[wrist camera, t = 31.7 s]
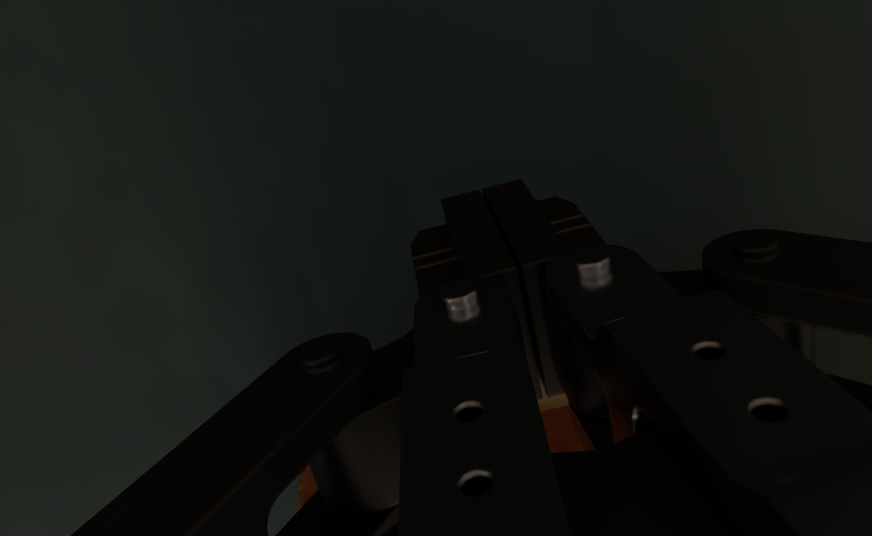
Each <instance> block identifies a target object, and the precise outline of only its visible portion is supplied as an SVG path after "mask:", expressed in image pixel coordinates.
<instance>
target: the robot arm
mask: <svg viewBox="0 0 872 536" xmlns="http://www.w3.org/2000/svg"><path fill="white" fill-rule="evenodd" d="M482 192H483V197H482V195H481V192H480V190H476V191H472V192H468V193H464V194H460V195H456V196H452V197H448V198H444V199H441V202H442V206H443V211H444V215H445V219H446V223H447V224H445V225H441V226H437V227H433V228H429V229H425V230H421V231H419V233H418V234H417V236H416V237H415V239H414V240H413V242H412V243H411V250H412V256H413V262H414V267H415V273H416V278H417V284H418V290H419V295H420V298H419V300H418V301H417V302H416V305H415V308H414V328H412V329H411V330H410V331H409V332H408V333H407V334H405V335H404V336H403V337H401V338H399V339H398V340H396V341H394V342H392V343H390V344H388V345H386V346H384V347H382V348H379V349H377V350H375V351H373V350H372V347H371V344H370V342H369V341H368V339H366V338H365V337H364V336H361V335H359V334H355V333H333V334H328V335H323V336H320V337H317V338H314V339H311V340H309V341H306V342H304V343H302V344H300V345H298V346H297V347H295V348H294V349H292V350H291V351H289V352H288V353H287V354H285V355H284V356H283V357H282V358H281V359H279V360H278V361H277V362H276V363H275V364H273V365H272V366H271V367H270V368H269V369H268V370H266V371H265V372H264V373H263V374H262V375H260V376H259V377H258V378H257V379H256V380H255V381H253V382H252V383H251V384H250V385H249V386H247V387H246V388H245V389H244V390H243V391H241V392H240V393H239V394H238V395H237V396H236V397H234V398H233V399H232V400H231V401H230V402H228V403H227V404H226V405H225V406H224V407H223V408H221V409H220V410H219V411H218V412H217V413H215V414H214V415H213V416H212V417H211V418H210V419H208V420H207V421H206V422H205V423H204V424H202V425H201V426H200V427H199V428H198V429H196V430H195V431H194V432H193V433H192V434H191V435H189V436H188V437H187V438H186V439H185V440H183V441H182V442H181V443H180V444H179V445H178V446H176V447H175V448H174V449H173V450H172V451H170V452H169V453H168V454H167V455H166V456H164V457H163V458H162V459H161V460H160V461H159V462H157V463H156V464H155V465H154V466H153V467H151V468H150V469H149V470H148V471H147V472H146V473H144V474H143V475H142V476H141V477H140V478H138V479H137V480H136V481H135V482H134V483H132V484H131V485H130V486H129V487H128V488H127V489H125V490H124V491H123V492H122V493H121V494H119V495H118V496H117V497H116V498H115V499H114V500H112V501H111V502H110V503H109V504H108V505H106V506H105V507H104V508H103V509H102V510H100V511H99V512H98V513H97V514H96V515H95V516H93V517H92V518H91V519H90V520H89V521H87V522H86V523H85V524H84V525H83V526H82V527H80V528H79V529H78V530H77V531H76V532H74V533H73V534H72V535H71V536H268V532H267V522H268V517H269V513H270V510H271V507H272V505H273V503H274V502H275V500H276V499H277V497H278V496H279V495H280V494H281V493H282V492H283V491H284V490H285V488H286V487H287V486H288V485H289V484H290V483H291V482H292V481H293V480H294V479H295V478H296V477H297V476H298V475H299V474H300V473H301V472H302V471H303V470H304V469H305V468H306V467H307V466H308V465H309V466H310V469H311V471H312V474H313V476H314V479H315V482H316V484H317V487H318V490H317V491H316V492H315V493H314V494H313V496H312V497H311V498H310V499H309V500H308V501H307V502H306V503H305V504H304V505H303V506H302V507H301V509H300V510H299V511H298V512H297V513H296V514H295V515H294V516H293V517H292V518H291V519H290V521H289V522H288V523H287V524H286V525H285V526H284V527H283V528H282V529H281V530H280V531H279V533H278V534H277V535H276V536H872V385H868V384H864V383H861V382H857V381H853V380H849V379H845V378H841V377H838V376H834V375H830V374H826V373H824V372H823V371H822V370H820V369H819V368H818V367H817V366H815V327H817V328H822V329H826V330H831V331H835V332H840V333H844V334H849V335H853V336H858V337H862V338H867V339H871V340H872V243H869V242H862V241H854V240H847V239H840V238H832V237H825V236H818V235H810V234H803V233H796V232H788V231H781V230H772V229H755V230H745V231H739V232H734V233H730V234H727V235H724V236H722V237H719V238H717V239H715V240H713V241H712V242H710V243H709V244H708V245H707V246H706V247H705V248H704V250H703V252H702V261H703V269H702V270H690V271H678V272H657V271H656V270H655V269H654V268H653V267H652V266H651V265H649V264H648V263H647V262H646V261H645V260H644V259H643V258H642V257H641V256H640V255H638V254H637V253H636V252H635V251H633V250H631V249H629V248H626V247H622V246H617V245H607V244H606V243H605V241H604V240H603V239H602V238H601V236H600V235H599V234H598V233H597V231H596V230H595V229H594V228H593V226H591V225H590V223H589V221H588V220H587V219H586V218H585V216H584V217H583V214H582V213H581V211H580V210H579V209H578V208H577V206H576V205H575V204H574V203H572V202H569V201H566V200H564V199H561V198H558V197H551V198H547V199H543V200H539V201H535V199H534V198H533V196H532V195H531V193H530V192H529V190H528V189H527V187H526V186H525V184H524V183H523V181H522V180H521V179H519V180H515V181H511V182H507V183H503V184H499V185H495V186H491V187H487V188H483V189H482ZM538 375H539V376H538ZM539 377H540V380H541V382H542V384H543V387H544V389H545V392H546V394H547V397H552V396H556V395H560V394H564V393H565V394H566V396H567V399H568V404H569V410H570V415H571V420H572V426H573V428H574V431H575V433H576V434H577V436H578V438H579V440H580V441H581V443H582V445H583V447H584V448H585V450H586V451H574V452H560V453H551V452H550V448H549V444H548V440H547V436H546V432H545V428H544V424H543V420H542V416H541V412H540V408H539V404H538V400H541V399H543V395H542V391H541V386H540V381H539Z"/></svg>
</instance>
